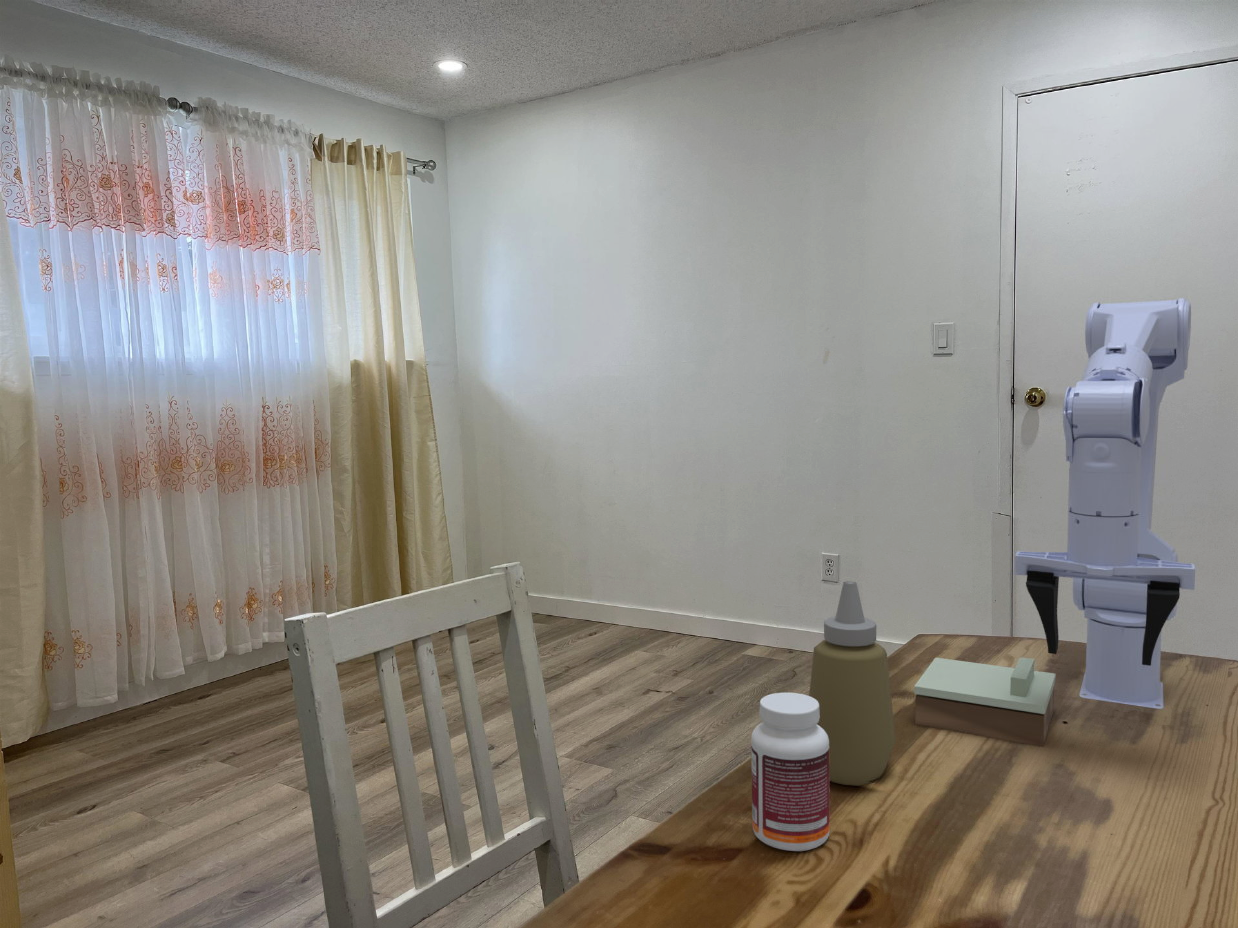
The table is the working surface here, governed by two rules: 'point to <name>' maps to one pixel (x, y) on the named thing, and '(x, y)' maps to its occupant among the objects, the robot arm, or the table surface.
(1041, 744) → the walnut box
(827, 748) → the pill bottle
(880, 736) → the squeeze bottle
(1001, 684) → the lid
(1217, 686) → the table surface
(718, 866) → the table surface
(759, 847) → the table surface
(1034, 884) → the table surface
